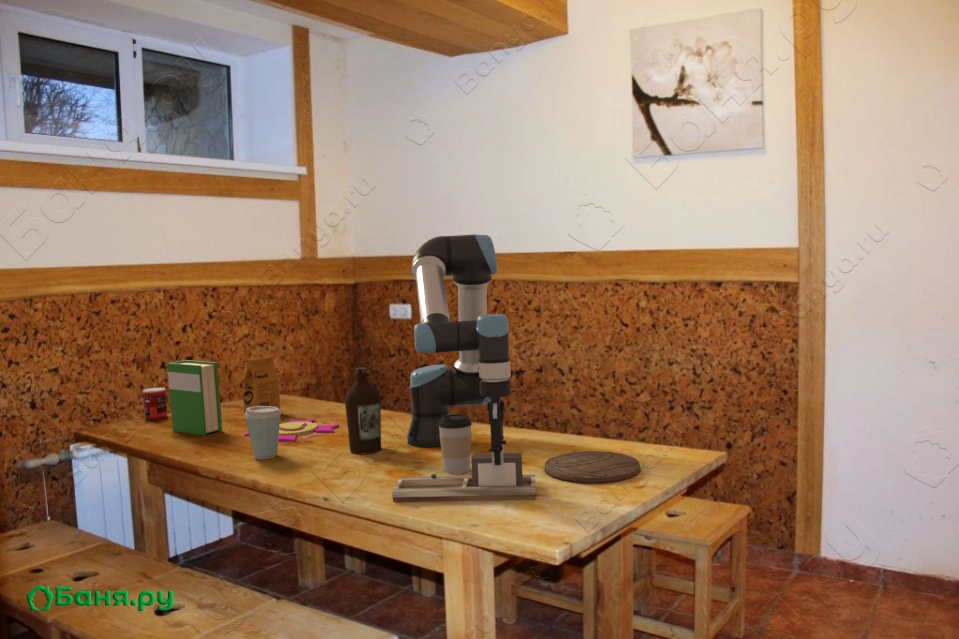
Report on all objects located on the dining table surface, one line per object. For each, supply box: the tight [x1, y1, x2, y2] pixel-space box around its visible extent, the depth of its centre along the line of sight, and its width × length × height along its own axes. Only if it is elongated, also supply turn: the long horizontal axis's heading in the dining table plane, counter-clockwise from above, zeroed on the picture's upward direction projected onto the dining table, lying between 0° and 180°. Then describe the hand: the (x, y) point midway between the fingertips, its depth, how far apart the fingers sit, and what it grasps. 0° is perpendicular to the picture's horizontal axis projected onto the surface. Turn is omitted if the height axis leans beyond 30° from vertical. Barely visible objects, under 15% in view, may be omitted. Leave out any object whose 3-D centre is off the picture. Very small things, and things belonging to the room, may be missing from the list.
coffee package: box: [241, 355, 281, 415], centre depth 290 cm, size 10×12×22 cm
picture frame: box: [470, 452, 523, 487], centre depth 187 cm, size 4×12×8 cm, turn 86°
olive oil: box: [344, 366, 382, 455], centre depth 232 cm, size 11×11×25 cm
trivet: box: [544, 450, 641, 485], centre depth 204 cm, size 25×25×2 cm
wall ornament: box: [243, 418, 340, 443], centre depth 262 cm, size 30×2×30 cm
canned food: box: [142, 387, 168, 421], centre depth 294 cm, size 8×8×11 cm
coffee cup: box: [438, 413, 473, 475], centre depth 208 cm, size 9×9×15 cm
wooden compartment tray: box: [391, 473, 537, 503], centre depth 188 cm, size 11×34×4 cm, turn 86°
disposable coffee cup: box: [244, 406, 282, 460], centre depth 230 cm, size 11×11×15 cm
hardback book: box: [166, 359, 223, 437], centre depth 268 cm, size 18×7×24 cm, turn 56°
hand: (498, 474), depth 187 cm, fingers closed on picture frame, 4 cm apart
